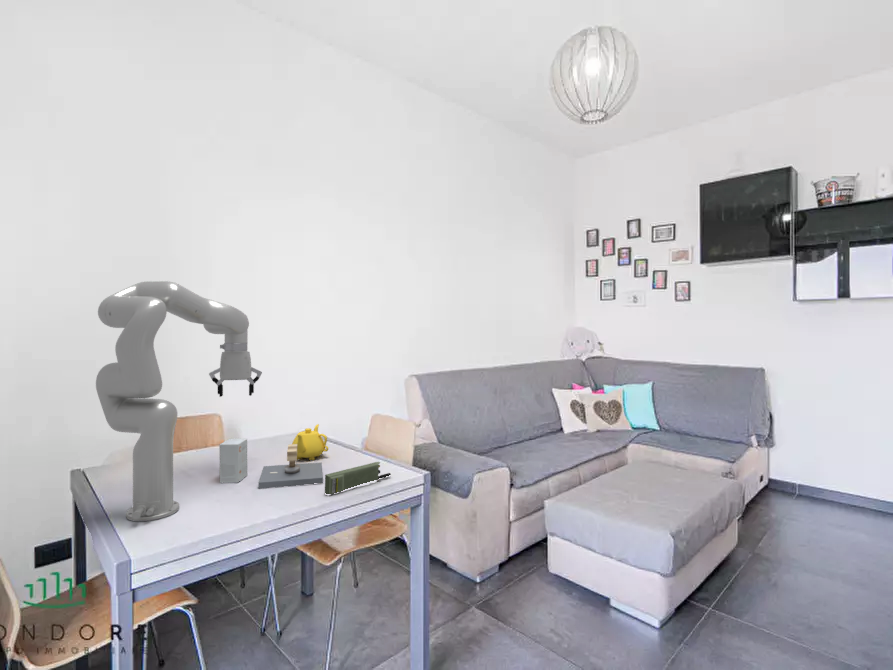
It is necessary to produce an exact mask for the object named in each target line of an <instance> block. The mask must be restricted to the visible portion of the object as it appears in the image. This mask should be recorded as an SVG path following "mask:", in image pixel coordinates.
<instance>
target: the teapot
mask: <svg viewBox="0 0 893 670" xmlns="http://www.w3.org/2000/svg"><path fill="white" fill-rule="evenodd" d="M319 426H320V424H319V423H317V424H316V425H315V426H314V427H313V428H314V429H313V430H312V428H311V427H310V428H309V427H308V428H304V430H303V431H300V432H298V433H297V434H296V436H295V437H294V439H293V441H292V444H297V460H296V461H300V460H302V459H303V458H305V459H307V458H308V460H309V461H310V460H312V461H315V460H316V458H315V457H316V456H318V457H321V455H322V454H323V453H324V452H328V451H329V447H328V445H327V443H328V436H327V435H326V434H324V433H319ZM323 438H324V439H323Z"/></svg>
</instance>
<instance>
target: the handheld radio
mask: <svg viewBox="0 0 893 670" xmlns="http://www.w3.org/2000/svg"><path fill="white" fill-rule="evenodd" d="M380 464H381V462H380V461H375V462H371V463H367V464H362V465H358V466H355V467H351V468H347V469H341V470H338V471H335V472H331V473H325V475H324V494H325V493H326V494H334V493H337V492H341V491H343V490H345V489H348V488H351V487H354V486H357V485H360V484H363V483H367V482H370V481H374V480H377V479H379V478H382V477H386V476H389V475H392V474H391V473H390V472H387V473H384V474H381V470H380V469H379V468H380V467H381V465H380ZM379 480H380V479H379Z"/></svg>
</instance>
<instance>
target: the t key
mask: <svg viewBox="0 0 893 670" xmlns="http://www.w3.org/2000/svg"><path fill="white" fill-rule="evenodd" d="M286 452H287V453H286V461H287V462H288V461H289V462H288V463H289V464H286V465H287V466H285V473H296V472H299V471H300V465H296V464H297V463H296V461H298V460H297V444H288V445H287V450H286Z"/></svg>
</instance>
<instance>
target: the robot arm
mask: <svg viewBox="0 0 893 670" xmlns="http://www.w3.org/2000/svg"><path fill="white" fill-rule="evenodd" d="M167 313H168V314H169V313H170V314H171V315H174V316H176V317H178V318H181V319H182V320H185V321H187V322H190V323H194V324H199V325H202V326H203V328H204V329H205V330H206V332H208V333H209V334H214V335H224V343H222V344H219V349H222V350H223V351H222V352H221V355H220V363H219V368H217V369H214V370H213V371H210V372H209V373H208V376H209V377H210V379H211V381H212V382H213V383H215V384H216V386H217V395H219V398H221V397H223V396H224V385H223V382H224V381H243V380H244V381H245V380H247V382H248V383H249V385H248V396H250V397H251V396H253V395H252V394H254V393H255V392H254V391H255V390H254V389H255V384H256V382H258V381H259V380H260V378H261V375H262V374H263V372H262V371H261V370H259V369H257V368H254V367H252V361H251V360H252V358H251V353H250V351H248V339H249V337H248V332H249V331H248V330H249V326H250V325H249V324H250V322H249V318H248V315H246V314H245V313H244V311H242V310H240V309H238V308H236V307H234V306H232V305H229V304H226V303H223V302H220V301H215V300H212V299H209V298H205V297H203V296H201V295H199V294H197V293H194V292H193V291H192V290H190V289H188V288H186V287H185V286H183V285H180V284H179V283H176V282H173V281H169V280H167V281H166V280H165V281H163V280H162V281H160V280H159V281H152V280H150V281H141V282H138V283H136V284H133V285H131V286H127V287H126V288H123V289H122V290H120V291H117V292H115V293H113V294H110V295H109V296H106V298H104V299H103V300H102V301H101V302H100V304H99V306H98V309H97V315H98V318H99V320H100V322H101V323H102V324H103V325H105V326H107V327H110V328H113V329H114V328H115V329H123V330H122V331H121V332H120V335H119V336H118V337H117V340H116V343H115V347H114V348H115V350H114V351H115V356H116V361H117V362H110V363H107V364H105V365H104V366H102V368H100V369H99V371H98V373H97V375H96V379H95V389H96V393H97V396H98V399H99V402H100V407H101V409H102V412H103V414H104V417H105V420H106V423H107V424H108V426H109V428H111V429H112V430H114V431H116V432H120V433H127V434H128V433H130V434H133V433H134V434H140V436H139V438H138V440H136V441H137V442H136V443H135V445H134V447H133V450H132V507H130V508H129V509H128V510H126V512H125V518H126V519H128V520H129V521H132V522H133V521H134V522H147V521H148V522H149V521H155V520H159V519H160V520H161V519H163V518H166V517H169V516H171V515H173V514H175V513H176V512H178V511H179V509H180V503H179V502H178V501H175V500H174V439H175V437H174V436H175V430H176V427H177V426H176V424H177V421H178V409H177V407H176V406H175V404H174V403H172V401H169V400H168V399H167V400H165V399H161V398H153V397H156V396H157V395H158V394H159V393H160V392H161V391H162V388H163V378H162V375H161V374H162V373H161V370H160V367H159V364H158V359H157V355H156V352H155V345H154V342H155V338H156V336H157V333H158V331H159V330H160V328H161V326H162V324H163V323H164V322H165V319H166V317H167ZM252 373H254V374H256V376H255V377H254V378H252ZM216 374H219V379H218V378H217V377H216Z"/></svg>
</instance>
